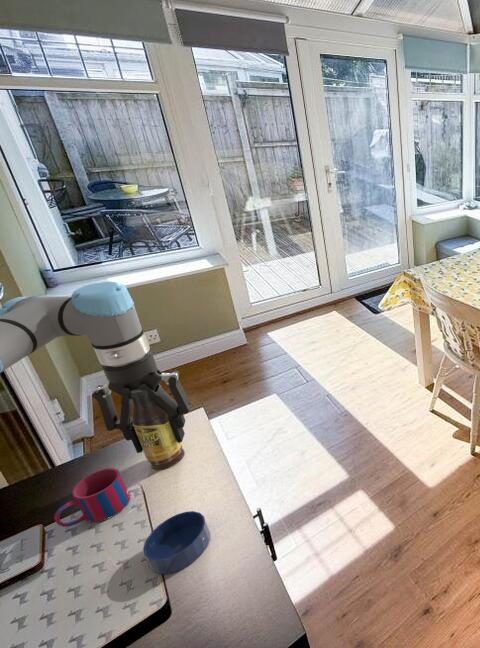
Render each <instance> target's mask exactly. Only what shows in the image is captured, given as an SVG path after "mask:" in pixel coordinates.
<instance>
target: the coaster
mask: <svg viewBox="0 0 480 648" xmlns="http://www.w3.org/2000/svg"><path fill="white" fill-rule="evenodd" d="M185 455H186V454H185V450H184V448H182V450H181V452H180V454H179V455H178V456H177V457H176V458H175V459H173V460H171V461H170V462H168V463H166V464H161V465H152V464H150V467H151V469H153V470H154V471H162V470H167V469H170V468H172V467H174V466H175V465H177V464H179V462H180V461H181V460H182V459H183V458H184V457H185Z"/></svg>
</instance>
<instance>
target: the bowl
mask: <svg viewBox="0 0 480 648" xmlns="http://www.w3.org/2000/svg"><path fill="white" fill-rule="evenodd" d="M210 541H211V531H210V528H209V526H208V523H207V521H206V518H205V515H203V514H202V513H201V512H199V511H194V510H192V511H191V510H189V511H183V512H180V513H177V514H175V515H172V516H171V517H169V518H166V519H165V520H164V521H163V522H162V523H160V524H158V525H157V526H156V527H155V528H154V529H153V530H152V531H151V532H150V534H149V535H148V536H147V538H146V540H145V542H144V544H143V547H142V549H143V555H144V557H145V559H146V561H147V563H148V566H149V567H150V569H151V570H152V572H154V573H155V574H158V575H171V574H174V573H178V572H180V571H182V570H184V569H186V568H188V567H189V566H190V565H192V564H193V563H195V562H196V561H197V560H198V559H199V558H200V557H201V556H202V555H203V554H204V552H205V551H206V550H207V548H208V546H209V544H210Z"/></svg>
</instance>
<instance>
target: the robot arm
mask: <svg viewBox="0 0 480 648" xmlns="http://www.w3.org/2000/svg"><path fill="white" fill-rule="evenodd" d="M75 336H87V337H88V339H89V341H90V344H91V346H92V348H93V350H94V352H95V354H96V357H97V360H98V362H99V364H101V368H102V371H103V373H104V375H105V378H106V381H108V384H105V385H103V384H99V385H97V386H96V388H95V389H94V391H93V392H92V394H91V396H92V398H94V400H95V401H96V402H97V403H98V406H99V409H100V412H101V415H102V418H103V421H104V425H105V428H106V430H107V431H109V432H112V431H114V430H119V431H121V433H122V435H123V437H124V440H126V441H131V442H132V445H133V446H134V448H135V451H136V453H137V454H140V453H142V452H143V449H142V446H141V444H140V441H139V439H138V436H137V434H136V431H135V429H134V426H133V423H132V422H133V417H132V411H133V404H134V403H133V400H132V397H130V391H131V390H134V389H140V390H141V391H143V390H147V392H148V395H147V396H148V397H149V398H150V399H154V400H155V401H156V402H157V403H158V404H159V405H160V406H161V407H162V408H163V409H164V410H165V411H167V412H168V413H169V414H170V415H171V417H170V420H169V422H170V424H171V427H172V429H173V432H174V434H175V437H176V440H177V442H178V443H180V442H181V443H183V440H184V437H185V430H184V427H185V424H186V418H185V416H184V414H188V413H189V411H190V408H191V405H192V402H191V400H190V398H189V397H188V394H187V393H186V391H185V389H184V386H183V384H182V383H181V381H180V371H179V370H176V369H175V370H173V371H172V372H162V370H160V369H159V368H158V366H157V363H156V359H155V357H154V355H153V352H152V350H151V346H150V344H149V342H148V340H147V337H146V334H145V332H144V329H143V327H142V325H141V322H140V319H139V315H138V312H137V309H136V306H135V302H134V299H133V298H132V297H131V294H130V292H129V291H128V288H127V287H126V286H125V284H123V283H122V282H119V281H115V280H106V281H105V280H104V281H102V282H93V283H88V284H86V285H83V286H81V287H78V288H77V289H75V290H74V291H73V292H72V293H71V295H44V294H38V295H30V296H19V297H15V298H12V299H10V300H7V301H6V302H5V303H3V306H2V307H1V308H0V374H1V373H3V372H4V371H6V370H8V369H9V368H10V367H11V366H13V365H15V364H16V363H18V362H19V361H22V359H24V358H25V357H28V356H29V355H31V354H33V353H34V352H36V351H38V350H39V349H41V348H43V347H44V346H46V345H48V344H49V343H50V342H52V341H54V340H55V339H57V338H59V337H60V338H61V337H75ZM161 381H164V383H165V385H167V386H168V388H169V391H170V392H171V394H172V396H173V397H172V396H171V395H170V394H169V393H167V392H166V391H165V389H164V388H163V386H162V384H160V382H161ZM154 390H155V391H154ZM112 392H114V393H116V394H118V395H120V396H121V397H120V398H121V400H120V405H121V407H120V415H119V416H120V417H119V416H118V412H117V409H116V406H115V402H114V400H113V396H112ZM131 420H132V421H131Z"/></svg>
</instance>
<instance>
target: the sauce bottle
mask: <svg viewBox="0 0 480 648" xmlns="http://www.w3.org/2000/svg"><path fill="white" fill-rule="evenodd" d="M154 391H155V390H154ZM147 395H148V392H147V390H143V391H141V390H140V389H134V390H131V391H130V397H132V400H133V403H132V404H133V415H132V421H133V422H132V421H131V422H132V423H133V426H134V429H135V431H136V434H137V436H138V439H139V441H140V444H141V446H142V449H143V450H142V452H143V453H144V456H145V459H146V460H147V461H148V463H149V464H150V465H151V464H152V465H161V464H166V463H168V462H170V461H171V460H173V459H175V458H176V457H177V456H178V455H179V454H180V452H181V450H182V449H183V444H182V442H180V443H178V442H177V440H176V437H175V434H174V432H173V429H172V427H171V424H170V422H169V420H170V417H171V415H170V414H169V413H168V412H167V411H165V410H164V409H163V408H162V407H161V406H160V405H159V404H158V403H157V402H156V401H155V400H154V399H150V398H149V397H148V396H147Z"/></svg>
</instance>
